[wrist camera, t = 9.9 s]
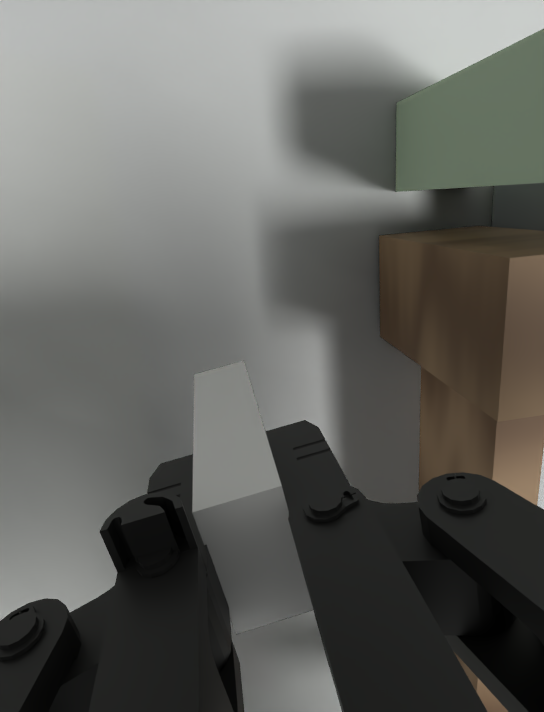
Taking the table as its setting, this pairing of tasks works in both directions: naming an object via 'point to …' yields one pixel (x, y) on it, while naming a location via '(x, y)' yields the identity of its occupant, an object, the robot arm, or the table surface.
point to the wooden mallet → (472, 353)
